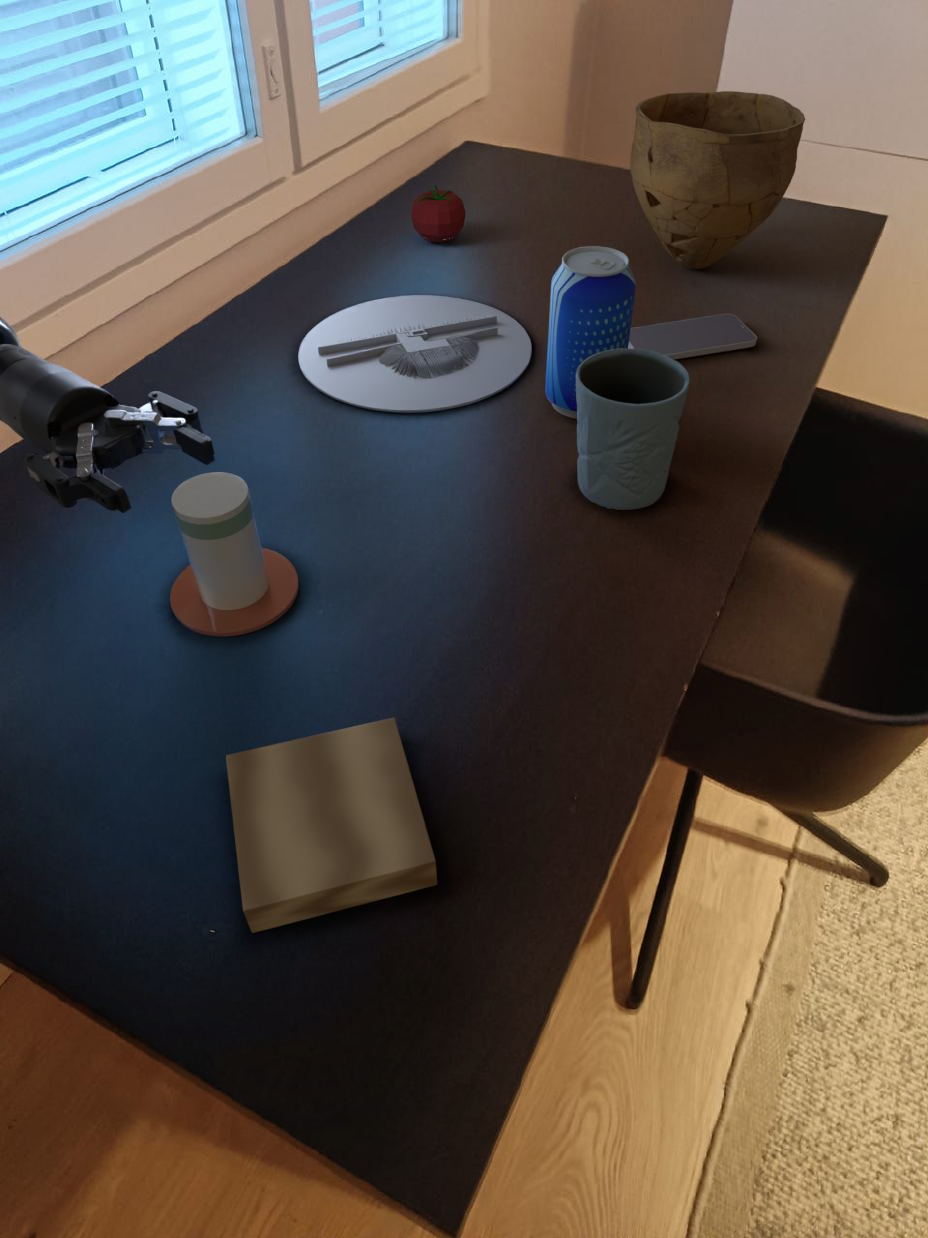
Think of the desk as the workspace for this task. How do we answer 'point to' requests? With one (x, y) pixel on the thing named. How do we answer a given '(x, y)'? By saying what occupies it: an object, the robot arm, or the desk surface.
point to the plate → (415, 353)
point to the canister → (221, 539)
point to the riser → (326, 824)
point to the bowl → (712, 167)
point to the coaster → (241, 620)
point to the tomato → (438, 215)
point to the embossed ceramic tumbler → (627, 425)
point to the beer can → (586, 317)
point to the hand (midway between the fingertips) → (169, 477)
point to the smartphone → (693, 336)
